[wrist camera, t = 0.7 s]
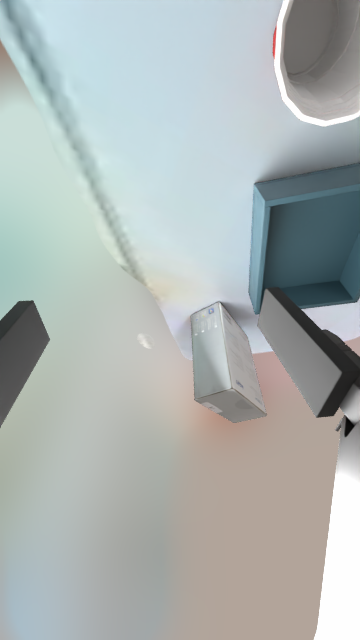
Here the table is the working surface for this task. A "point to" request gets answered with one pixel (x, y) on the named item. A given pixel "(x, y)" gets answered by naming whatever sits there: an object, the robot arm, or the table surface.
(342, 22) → the plastic cup
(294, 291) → the tray
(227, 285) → the table surface
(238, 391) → the hard drive box
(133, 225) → the table surface
